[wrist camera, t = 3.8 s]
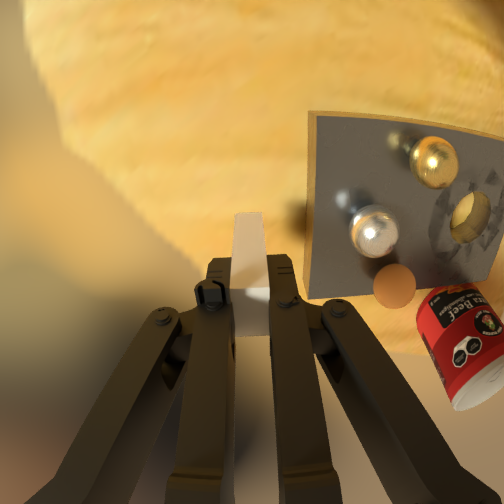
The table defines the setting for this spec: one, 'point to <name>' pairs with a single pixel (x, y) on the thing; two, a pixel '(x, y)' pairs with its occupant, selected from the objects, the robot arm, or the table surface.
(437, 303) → the canned food
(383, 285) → the orange ball
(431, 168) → the brass ball
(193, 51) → the table surface
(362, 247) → the steel ball
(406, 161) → the bearing plate
